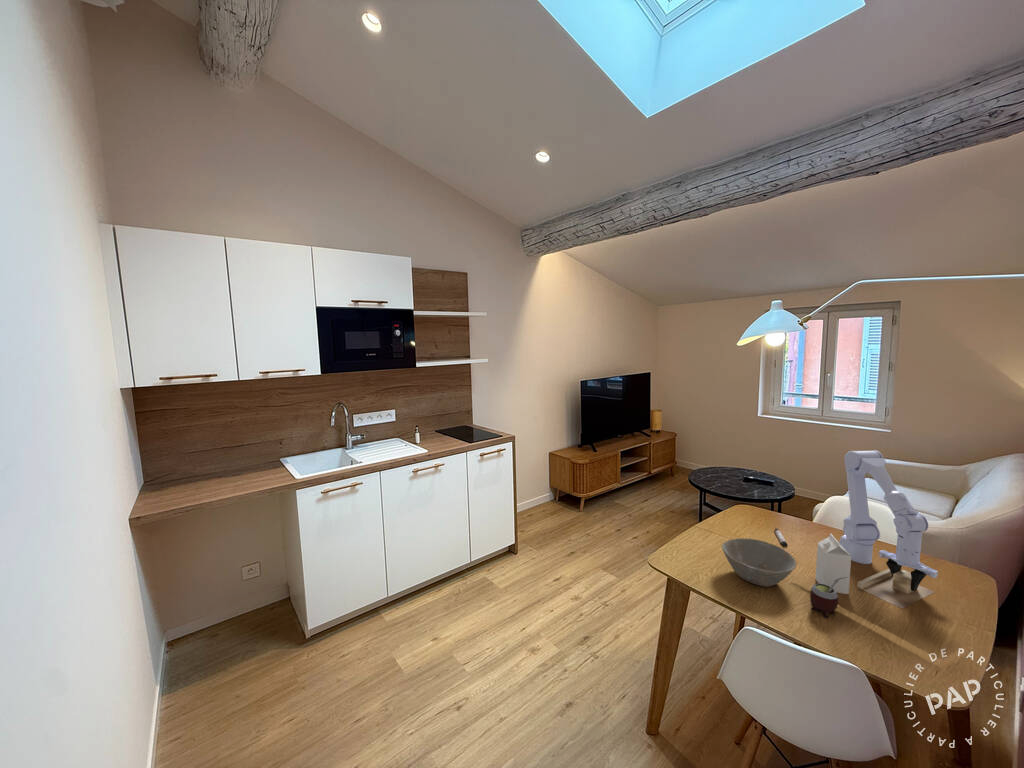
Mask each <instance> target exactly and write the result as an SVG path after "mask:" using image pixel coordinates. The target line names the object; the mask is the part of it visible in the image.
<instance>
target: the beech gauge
mask: <svg viewBox="0 0 1024 768" xmlns="http://www.w3.org/2000/svg"><path fill="white" fill-rule="evenodd" d="M911 582H912V580H911V571H908V570H905V569H901V571H899V572H897V573H894V574H893V585H892V588H894V589H897V590H899V591H901V592H903V593H906V594H909V593H911V592H913V591H912V590H911Z"/></svg>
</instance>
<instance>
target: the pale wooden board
mask: <svg viewBox="0 0 1024 768" xmlns="http://www.w3.org/2000/svg"><path fill="white" fill-rule="evenodd" d="M892 585H893V577H892V574H891V571H890V569H889V568H887V569H884V570H883V571H879V572H877V573H875V574H873V575H870V576H868V577H865V578H863V579H861V580H859V581H857V585H856V587H857V589H860V590H862V591H864V592H866V593H868V594H869V595H872V596H874V597H876V598H878V599H881V600H883V601H884V602H887V603H889V604H891V605H893V606H896V607H897V608H899V609H902V610H903V609H905V608H907V607H909V606H910V605H912V604H914V603H916V602H918V601H921V600H922V599H924V598H926V597H928V596H930V595H932V594H935V591H934V590H932V589H929V588H927V587H924V586H921V585H920V584H919V585H918V588H917V590H916V591H913V592H911V593H909V594H906V593H903V592H901V591H899V590H897V589H894V588H892Z"/></svg>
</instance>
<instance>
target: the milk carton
mask: <svg viewBox="0 0 1024 768" xmlns="http://www.w3.org/2000/svg"><path fill="white" fill-rule="evenodd" d="M816 548H817V551H816V563H815V564H816V565H815V566H816V567H815V580H816V582H817V584H825V585H828V586H830V587H831V586H832V584H833V583H834V580H835V579H837V578H840V577H847V578H844V579H841V580H839V581H838V582H837V583H836V584H835V586H834V587H833V589H834V590H835V592H836V593H837V594H845V595H849V594H850V593H849V592H850V579H851V564H852V560H851V555H850V554H849V553H848V552H847V551H846V550H845V549H844V548H843V547H842V546H841V545H840V543H839V541H838V539H836V537H834V535H833V534H832V533H829V536H828V537H826V538H825V539H822V540H820V541H819V542H817V547H816Z"/></svg>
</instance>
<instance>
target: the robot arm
mask: <svg viewBox="0 0 1024 768" xmlns="http://www.w3.org/2000/svg"><path fill="white" fill-rule="evenodd" d="M843 458H844V466H845V472H846V480H847V481H846V482H847V489H848V500H849V507H850V508H849V510H850V514H849V515H848V516H847V517H845V518H844V519H843V526H842V532H843V535H841V536H840V538H839V541H838V542H839V543H840V545H841V546H842V547H843V548H844V549H845V550H846V551H847V552H848V553H849V554H850V555H851V562H852V561H853V562H855V563H859V564H863V565H864V564H865V565H870V564H872V561H873V549H874V544H876V541H878V540H879V539H880V537H881V531H880V529H879V528H878V522H877V521H876V520H875V519H874V518H872V517H871V516H870V509H869V501H868V492H867V485H866V484H867V483H866V476H865V475H866V474H869V475H871V477H873V480H875V481H876V483H877V485H878V486H879V487H880V489H881V490H882V491H883V493H884V496H883V499H884V501H885V503H886V504H887V506H888V508H889V509H890V511H891V512H892V514H893V516H894V518H893V520H892V521H893V524H894V526H895V532H896V534H897V537H896V547H895V553H893V552H890V551H887V550H884V549H882V550H879V551H878V557H880V558H885V559H888V560H887V561H886V562H885V563H886V566H887V568H888V569H890V571H891V574H892V577H893V574H894V573H897V572H899V571H901V570H902V568H903V567H906V568H909V569H912V570H911V571H910V573H911V580H912V582H911V590H912V591H916V590H917V588H918V585H920V584H921V582H922V581H923V580H924V578H925V577H926V576H929V577H931V578H933V579H936V578H937V577H938V576H939V575H938V573H939V571H938V570H936V569H933V568H931V567H930V566H927V565H926V564H924V563H922V562H920V560H921V550H922V539H923V538H922V537H923V532H926V531H928V529H929V522H928V520H927V518H926V516H924V514H922V513H920V512H919V511H918V510H915V508H914V506H913V505H912V504H911V502H910V501H909V499H908V497H907V496H906V495H905V493H903V492H902V491H899V490H898V489H897V488H896V485H895V484H894V482H893V480H892V478H891V476H890V474H889V472H888V471H887V469H886V467H885V466H886V464H887V463H886V460H885V458H884V456H883V454H882V452H880V451H878V450H876V449H875V450H848V452H847V453H845V454H844V456H843Z"/></svg>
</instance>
